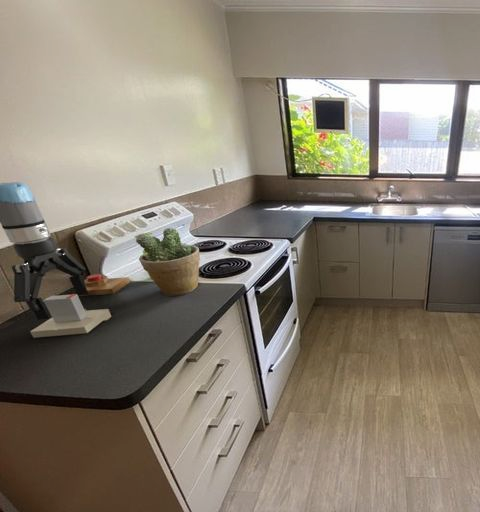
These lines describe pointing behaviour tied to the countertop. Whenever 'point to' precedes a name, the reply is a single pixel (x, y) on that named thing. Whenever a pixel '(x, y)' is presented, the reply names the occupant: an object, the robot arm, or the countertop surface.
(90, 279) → the button
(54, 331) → the plate
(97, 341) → the countertop surface
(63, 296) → the white rectangular box
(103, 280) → the button block
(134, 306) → the countertop surface
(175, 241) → the potted plant
